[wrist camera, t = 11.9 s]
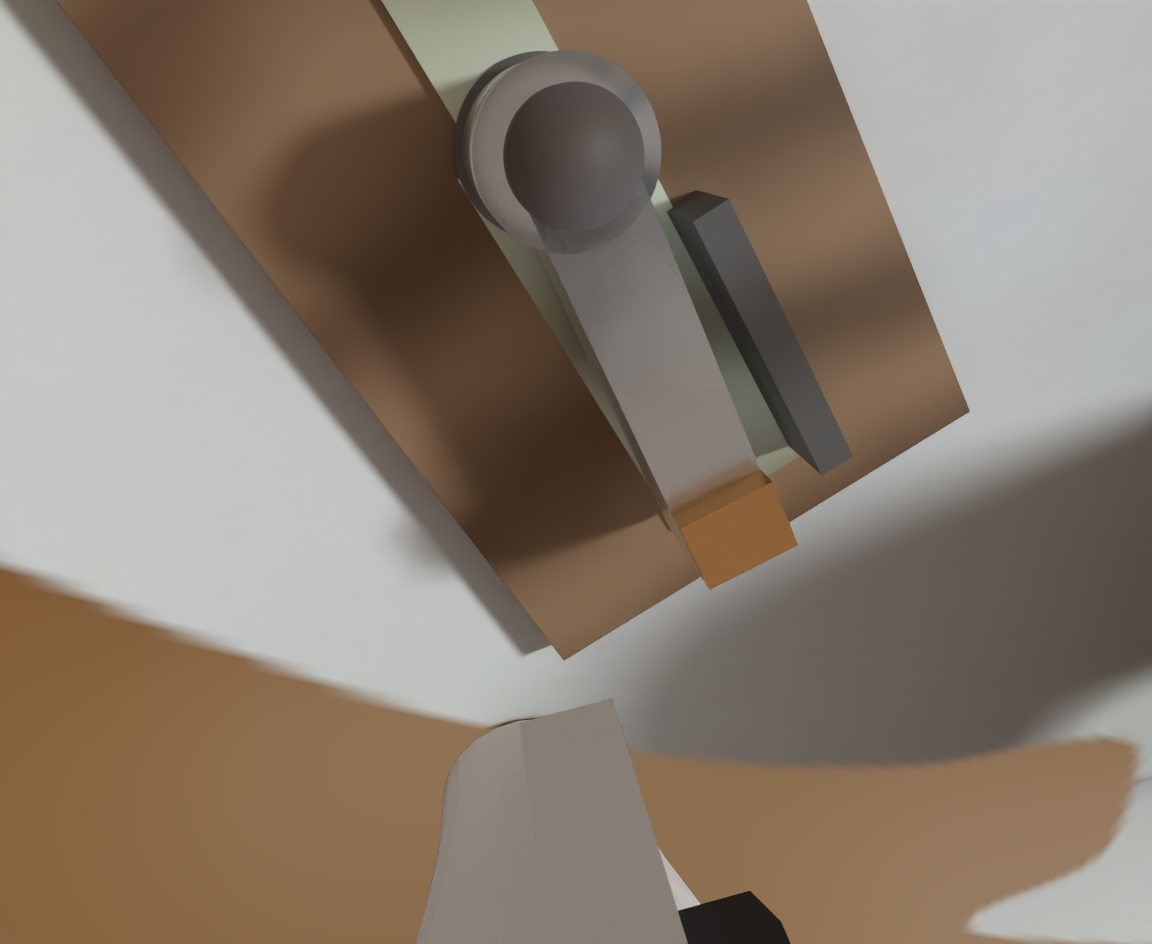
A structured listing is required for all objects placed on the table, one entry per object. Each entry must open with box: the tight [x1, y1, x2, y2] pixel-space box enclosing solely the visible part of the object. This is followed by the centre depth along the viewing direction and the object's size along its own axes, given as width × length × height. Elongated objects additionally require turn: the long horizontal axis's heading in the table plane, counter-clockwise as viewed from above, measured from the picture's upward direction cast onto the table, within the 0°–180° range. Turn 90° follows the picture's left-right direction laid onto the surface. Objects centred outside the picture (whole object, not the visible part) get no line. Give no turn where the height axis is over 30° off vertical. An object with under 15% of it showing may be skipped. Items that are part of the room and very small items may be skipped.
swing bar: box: [463, 50, 798, 589], centre depth 21 cm, size 13×4×4 cm, turn 25°
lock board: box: [56, 0, 970, 660], centre depth 20 cm, size 24×15×6 cm, turn 31°
